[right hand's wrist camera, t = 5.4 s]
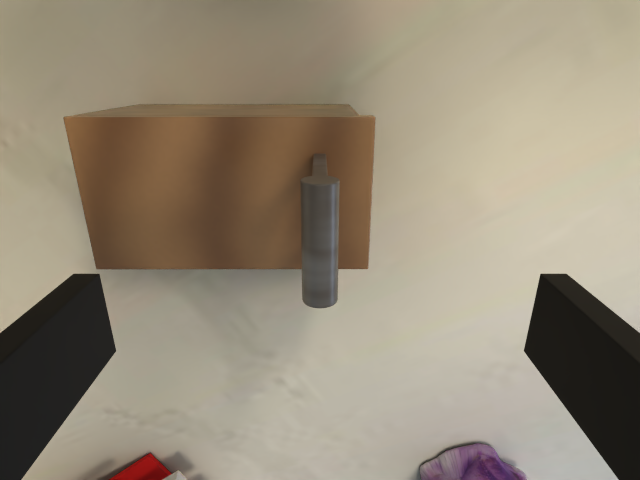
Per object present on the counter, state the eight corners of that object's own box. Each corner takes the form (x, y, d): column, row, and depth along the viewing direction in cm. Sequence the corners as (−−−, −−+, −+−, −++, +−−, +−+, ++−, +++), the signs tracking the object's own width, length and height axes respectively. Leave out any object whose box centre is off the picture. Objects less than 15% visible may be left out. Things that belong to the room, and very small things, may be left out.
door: (373, 115, 23) (401, 136, 15) (366, 263, 27) (387, 343, 19) (72, 115, 23) (-57, 136, 15) (103, 263, 27) (11, 344, 19)
